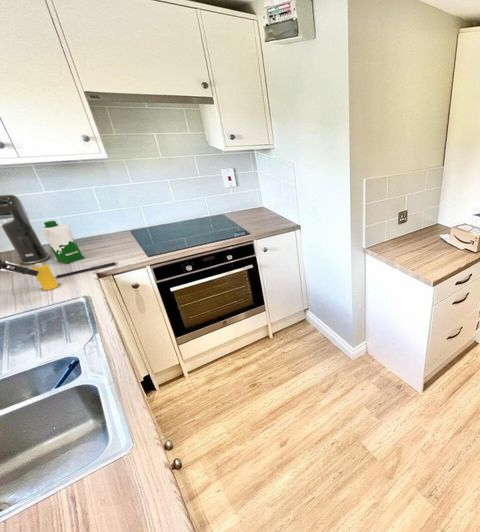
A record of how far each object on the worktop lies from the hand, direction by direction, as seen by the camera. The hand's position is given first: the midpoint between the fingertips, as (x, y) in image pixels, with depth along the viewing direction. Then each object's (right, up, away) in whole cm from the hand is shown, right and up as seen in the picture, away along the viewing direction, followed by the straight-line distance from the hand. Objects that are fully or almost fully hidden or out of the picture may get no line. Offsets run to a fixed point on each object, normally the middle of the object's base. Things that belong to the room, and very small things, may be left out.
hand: (30, 272), depth 134 cm
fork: (+3, 0, +21) cm, 21 cm away
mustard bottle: (+1, -7, +7) cm, 10 cm away
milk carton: (-15, +6, +31) cm, 34 cm away
